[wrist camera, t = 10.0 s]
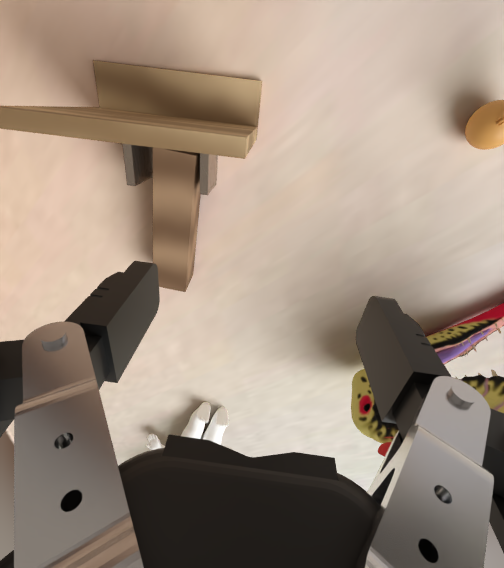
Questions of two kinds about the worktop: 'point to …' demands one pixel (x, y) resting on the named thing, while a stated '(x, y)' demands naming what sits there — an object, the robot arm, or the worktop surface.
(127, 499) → the robot arm
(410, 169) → the worktop surface
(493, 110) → the figurine
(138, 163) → the bracket
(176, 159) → the rail
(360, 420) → the toy
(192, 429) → the doll
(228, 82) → the wooden angled panel
